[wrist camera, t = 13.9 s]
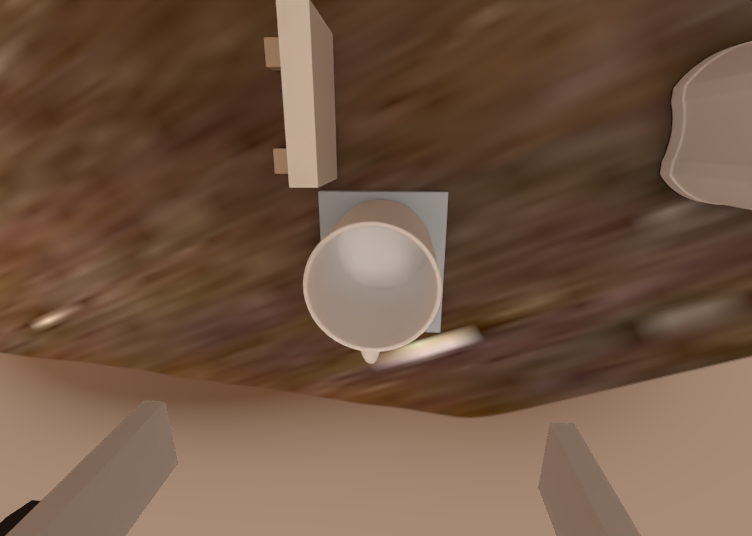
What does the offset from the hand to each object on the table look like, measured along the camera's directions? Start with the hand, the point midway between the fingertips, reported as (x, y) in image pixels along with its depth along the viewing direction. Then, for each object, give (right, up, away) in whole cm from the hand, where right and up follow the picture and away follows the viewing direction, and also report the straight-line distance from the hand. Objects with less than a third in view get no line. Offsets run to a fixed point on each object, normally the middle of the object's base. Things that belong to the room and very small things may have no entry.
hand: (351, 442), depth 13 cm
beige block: (-5, +19, +18) cm, 27 cm away
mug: (+1, +6, +21) cm, 22 cm away
